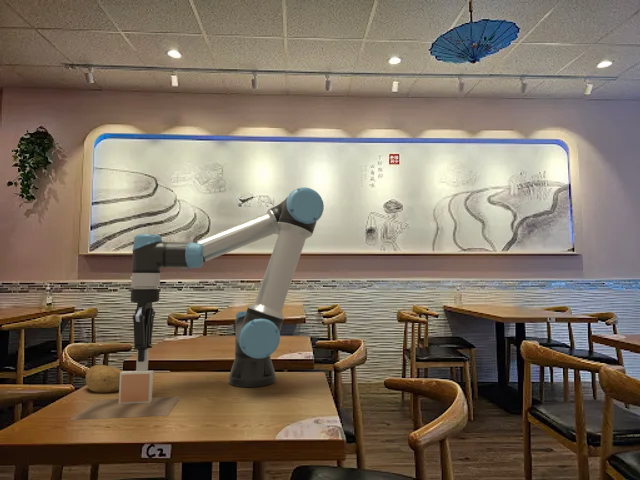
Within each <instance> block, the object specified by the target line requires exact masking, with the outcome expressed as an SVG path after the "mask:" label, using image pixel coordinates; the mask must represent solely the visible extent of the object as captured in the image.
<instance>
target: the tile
mask: <svg viewBox="0 0 640 480" xmlns="http://www.w3.org/2000/svg"><path fill="white" fill-rule="evenodd" d="M122 371H123V372H120V383H119V390H118V399H119V404H132V403H151V402H152V398H153V385H154V384H153V381H154V370H148V371H136V370H133V371H132V370H131V371H130V370H129V371H125V370H122Z"/></svg>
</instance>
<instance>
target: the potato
mask: <svg viewBox="0 0 640 480" xmlns="http://www.w3.org/2000/svg"><path fill="white" fill-rule="evenodd" d="M123 371H124V370H121V369H120V368H118V367H115V366H109V365H106V364H105V365H104V364H96V365H93V366H91V367H90V368H89V369H88V370H87V371H86V374H85V384H86V386H87V389H88V390H90V391H91V392H94V393H101V394H102V393H107V394H108V393H115V392H117V391H119V383H120V372H123Z"/></svg>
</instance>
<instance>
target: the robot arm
mask: <svg viewBox="0 0 640 480" xmlns="http://www.w3.org/2000/svg"><path fill="white" fill-rule="evenodd" d="M324 206H325V205H324V201H323V199H322V197H321V195H320V194H319V193H318V192H317V190H314V189H312V188H311V187H299V188H296V189H293V190H292V191H291V192H290V193H289V195H287V197H286V198H285V199H284V200H283V201H281V202H280V203H279V204H278V205H275V206H273V207H271V208H268V209H267V211H266V213H264V214H261V215H258V216H256V217H254V218H251V219H248V220H246V221H243V222H241V223H239V224H235V225H233V226H231V227H228V228H225V229H223V230H221V231H218V232H215V233H213V234H210V235H208V236H206V237H203V238H202V237H201V239H198V240H196V241H190V242H187V241H186V242H182V241H181V242H178V241H177V242H176V241H175V242H171V241H170V242H168V241H163V239H162V236H161V235H159V234H151V233H139V234H136V235H135V236H134V237H133V238H134V239H133V246H132V260H131V261H132V267H131V276H129V280H131V290H130V302H131V303H133V304H135V303H137V305H136V309H135V310H134V311H135V312H134V314H132V322H133V340H134V341H133V343H134V344H133V345H134V346H133V350H134V351H136V365H135V366H136V367H135V371H149V355H150V354H149V352H150V351H149V349H152V348H153V345H152V340H153V330H154V321H155V320H154V319H155V316H156V311H155V309H154V308H153V303H158V302H159V301H160V289H158V288H159V287H160V286H161V268H163V269H165V268H172V269H173V268H174V269H175V268H178V269H182V270H184V271H185V270H186V271H187V270H191V269H199V268H202V267H203V265H204V263H205V262H208V261H211V260H212V259H215V258H218V257H220V256H223V255H225V254H228V253H231V252H232V251H235V250H238V249H241V248H242V247H246V246H247V245H250V244H252V243H255V242H257V241H260V240H262V239H264V238H266V237H270V236H272V235H277V239H276V242H275V244H274V247H273V250H272V252H271V255H270V258H269V261H268V264H267V267H266V270H265V272H264V276H263V278H262V282H261V284H260V288H259V290H258V292H257V296H256V298H255V302H254V303H252V304H251V305H249V306H247V309H246V310H242V311H238V312H237V313H236V315H235V320H234V322H235V335H234V336H235V339H234V341H235V342H234V343H235V345H234V346H235V347H234V361H233V363H232V366H231V369H230V373H229V377H228V380H229V381H228V383H229V384H230V385H232V386H235V387H241V388H257V387H263V386H269V385H271V384H274V383H275V382H276V371H275V368H274V365H273V361H272V357H271V355H273V354H274V353H275V352H276V350H277V349H278V347H279V345H280V341H281V333H280V332H281V330H282V326H283V323H284V320H285V317H284V315H283V312H282V310H283V308H284V305H285V302H286V298H287V296H288V293H289V290H290V287H291V284H292V280H293V279H294V275H295V273H296V270H297V266H298V264H299V260H300V257H301V255H302V251H303V248H304V245H305V242H306V240H307V239H308V238H311V237H312V236H313V235H314V234H313V233H314V230H315V228H316V226H317V222H318V221H319V219H321V217H322V215H323V212H324ZM132 288H133V289H132Z"/></svg>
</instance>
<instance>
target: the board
mask: <svg viewBox="0 0 640 480" xmlns="http://www.w3.org/2000/svg"><path fill="white" fill-rule="evenodd" d="M181 398H182V396H165V397H164V396H163V397H152V402H151V403H132V404H119V398H112V399H110V398H109V399H108V398H107V399H97V400H95V401H94V402H92V403H91V404H90V405H88V406H87V407H86V408H84V409H83V410H82V411H79V412H78V413H77V414H76V415H74V416H73V417H71V418H70V419H69V421H79V420H80V421H81V420H83V421H84V420H100V419H102V420H103V419H105V420H107V419H121V418H122V419H126V418H144V417H145V418H146V417H147V418H148V417H167V416H169V415H170V413H171V412H172V410H173V409H174V407H175V406H176V405H177V403H178V402H179V401H180V399H181Z"/></svg>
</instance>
